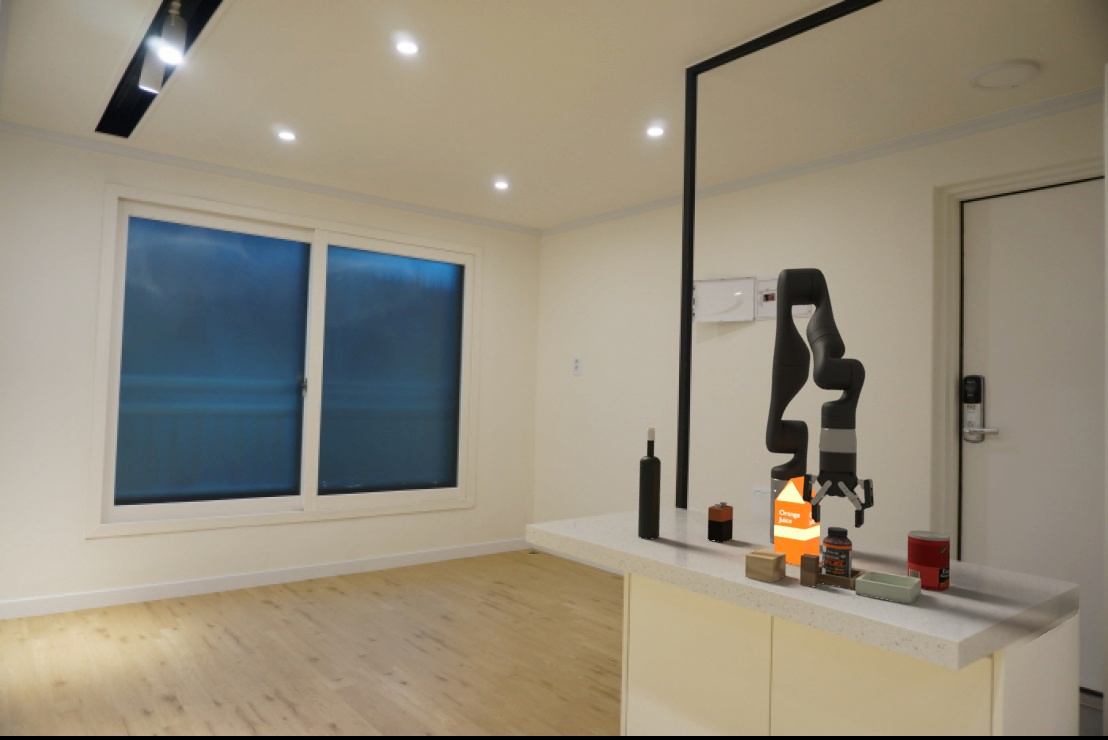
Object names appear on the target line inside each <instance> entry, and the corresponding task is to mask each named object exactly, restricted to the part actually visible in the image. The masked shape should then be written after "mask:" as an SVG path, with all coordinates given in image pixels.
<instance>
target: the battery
mask: <svg viewBox="0 0 1108 740" xmlns="http://www.w3.org/2000/svg"><path fill="white" fill-rule="evenodd" d="M707 508H708V510H707V516H708V517H707V540H708V539H709V540H715V541H719V542H718V543H720V542H721V543H724V542H723V541H725V542H727V540H728V541H730V539H731V540H733V531H734V529H733V528H734V524H733V523H734V507H733V506H732V505H728V502H723V501H720V502H719V503H715V504H714V505H711V506H709V507H707ZM709 540H708V541H709Z"/></svg>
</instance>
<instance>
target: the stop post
mask: <svg viewBox="0 0 1108 740" xmlns="http://www.w3.org/2000/svg"><path fill="white" fill-rule="evenodd" d="M819 565H820V555H819V556H818V555H812V554H806V553H805V554H803V555H801V556H800V565H799V567H800V568H799V571H800V572H799V573H800V574H799V585H801V584H805V585H804V586H806V585H809V586H808V587H811V586H814V587H813V588H815V587H817V586H819V585H820V583H819ZM818 584H819V585H818ZM816 585H817V586H816Z"/></svg>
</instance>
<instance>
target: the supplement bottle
mask: <svg viewBox="0 0 1108 740" xmlns="http://www.w3.org/2000/svg"><path fill="white" fill-rule="evenodd" d="M848 533H849V530H848V529H847V528H844V527H840V526H839V527H838V526H829V527H827V536H825V537H823V539H822V558H821V561H822V562H821V564H822V574H828V575H833V576H839V577H845V578H850V579H851V569H853V567H852V563H853V562H852V561H853V543H852V540H851V539H850V538H849V537H848V535H849V534H848Z"/></svg>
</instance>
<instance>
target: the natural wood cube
mask: <svg viewBox="0 0 1108 740" xmlns="http://www.w3.org/2000/svg"><path fill="white" fill-rule="evenodd" d="M786 565H787V563H786V553H780V552H774V550H767V549H766V550H765V549H761V548H760V549H757V550H754V551H752V552H750V553H746V554H745V569H744V570H745V572H744V573H745V574H744V575H745V578H746V577H748V578H747V579H751V578H753V579H752V580H756V579H759V580H758V581H761V580H764V581H763V582H767V581H770V582H769V583H772V582H773V581H774V582H776V581H778V580H779V578H780V579H781V577H782V576H784V575H785V576H786V575H787V573H786V572H787V571H786V569H787V566H786ZM785 576H784V577H785ZM782 578H783V577H782ZM777 579H778V580H777ZM775 580H776V581H775ZM774 582H773V583H774Z"/></svg>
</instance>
